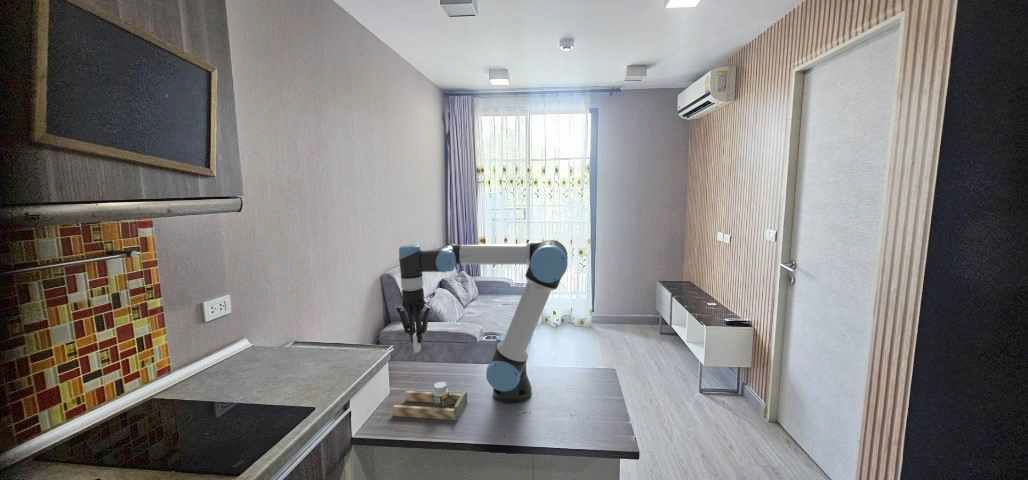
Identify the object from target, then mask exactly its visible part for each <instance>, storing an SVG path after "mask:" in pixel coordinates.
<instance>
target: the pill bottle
mask: <svg viewBox="0 0 1028 480" xmlns="http://www.w3.org/2000/svg"><path fill="white" fill-rule="evenodd" d="M432 392H433V402H434V403H433V402H432V403H433V407H434V408H449V409H451V408H450V407H451V404H450V403H449V393H450V391H449V389H448V384H447V382H445V381H438V382H436V383H434V384H433V391H432Z"/></svg>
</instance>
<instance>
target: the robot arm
mask: <svg viewBox="0 0 1028 480" xmlns="http://www.w3.org/2000/svg"><path fill="white" fill-rule="evenodd" d="M398 260H399V269H400V271H399V272H400V284H401V287H400V288H401V289H402V290H401V297H402V303H401V305H399V306H398V307H396V309H395V310H396V312H397V313H398V314H399V317H400V320H401V324H402V327H403V330H404V333H406V334H409V336H410V342H411V344H412V346H413V353H414V354H415V353H417V354H419V352H421V349H422V348H421V344H422V342H423V334H424V333H425V332H427V330H428V326H429V325H428V323H429V318H430V314H431V313H430V312H431V310H432V309H433V307H432V306H431V305H430V306H429V305H428V304H426V300H425V292H424V291H425V290H424V288H423V287H424V279H423V273H430V272H431V273H446V272H447V273H448V272H449V273H450V272H453V271H454V270H455V267H456V265H458V266H459V265H460V266H461V265H462V266H463V265H527V266H528V268H527V269H526V273H525V275H524V276H525V279H526V281H527V282H526V284H525V287H524V289H523V291H522V295H521V297H520V299H519V302H518V303H517V307H516V309H515V311H514V314H513V316H512V319H511V321H510V324H509V327H508V328H507V332H506V333H505V335H500V336H498V337H497V338H496V339H495V342H494V345H495V348H494V349H495V350H494V353H493V355H492V357H491V360H490V363H489V364H488V365H487V367H486V372H485V373H486V374H485V375H486V380H487V382H488V383H489V385H490V386H491V387H492V392H493V393H492V395H493V397H494V399H495V400H497V401H499V402H500V403H501V402H502V403H506V404H517V403H521V402H524V401H526V400H528V399H529V398H530V397H531V396H532V385H531V382H530V380H529V376H528V374H527V373H528V372H527V360H528V358H529V355H528V353H527V350H528V347H529V345H530V342H531V340H532V337H533V336H534V333H535V331H536V328H537V326H538V323H539V321H540V318H541V317H542V314H543V311H544V309H545V306H546V304H547V302H548V299H549V297H550V295H551V293H552V291H554V290H557V289H558V286H559V284H560V282H561V280H562V277H563V276H564V275H565V273H566V271H567V269H568V262H569V261H568V252H567V249H566V247H565V246H564V244H562V243H561V242H560V241H558V240H554V239H548V240H547V239H546V240H545V239H544V240H533V241H532V240H531V241H528V242H527V243H520V244H519V243H518V244H517V243H514V244H513V243H512V244H511V243H510V244H505V243H504V244H501V243H500V244H498V243H497V244H496V243H495V244H456V243H447V244H445V245H443V246H442V247H439V248H437V249H435V250H422V247H421V245H420V244H405V245H402V246H400V247H399V249H398ZM423 311H424V312H423ZM406 312H407V313H406ZM422 312H423V317H422ZM422 318H423V319H422Z"/></svg>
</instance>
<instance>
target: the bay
mask: <svg viewBox="0 0 1028 480" xmlns="http://www.w3.org/2000/svg"><path fill="white" fill-rule="evenodd" d="M433 392H434V391H432V392H431V391H419V390H417V391H416V390H405V393H404V394H405V397H404V398H405V401H407V402H418V403H419V402H421V403H433V404H434V402H433ZM467 392H468V391H467V390H463V391H462V393H453V392H449V403H450V405H451V404H452V405H454V406H453V408H450V409H449V408H434V406H433V407H431V406H415V405H402V404H401V405H399V404H394V405H393V406H392V413H393V414H392V415H393V417H406V418H419V419H420V418H422V419H435V420H450V421H459V419H460V417H461V415H462V414H463V412H464V410H465V408H466V406H467V404H468V393H467Z"/></svg>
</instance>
